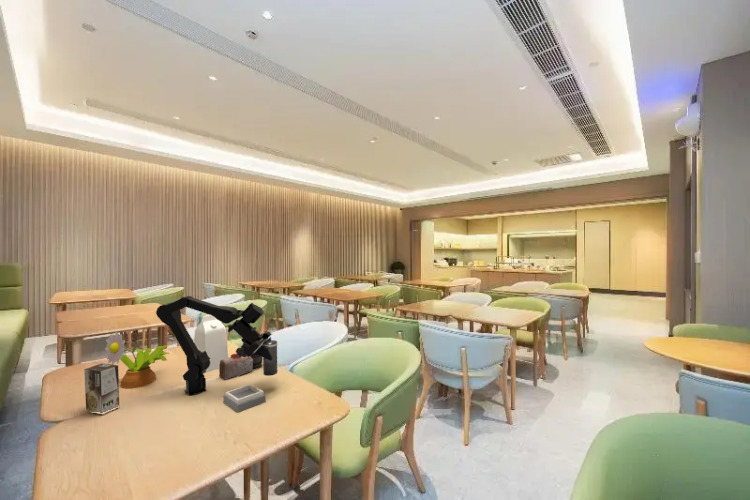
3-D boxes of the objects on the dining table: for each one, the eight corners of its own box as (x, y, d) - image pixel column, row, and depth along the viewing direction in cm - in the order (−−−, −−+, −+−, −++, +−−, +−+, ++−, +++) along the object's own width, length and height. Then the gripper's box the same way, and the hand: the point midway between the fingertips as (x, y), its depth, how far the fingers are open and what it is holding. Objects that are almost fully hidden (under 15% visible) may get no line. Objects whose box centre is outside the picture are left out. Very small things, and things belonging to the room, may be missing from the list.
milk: (216, 361, 178) (215, 311, 178) (228, 365, 171) (227, 314, 171) (193, 368, 168) (191, 315, 168) (205, 373, 162) (203, 318, 161)
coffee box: (120, 407, 128) (119, 365, 127) (101, 416, 122) (100, 371, 121) (103, 404, 131) (102, 362, 130) (84, 412, 125) (83, 368, 124)
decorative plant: (93, 388, 146) (91, 330, 146) (149, 368, 168) (147, 318, 168) (135, 397, 136) (133, 335, 136) (188, 375, 158) (187, 322, 158)
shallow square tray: (237, 412, 123) (237, 400, 122) (223, 402, 131) (223, 391, 131) (265, 401, 131) (265, 390, 131) (250, 392, 139) (250, 382, 139)
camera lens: (265, 364, 172) (265, 334, 172) (258, 370, 164) (257, 339, 164) (250, 364, 173) (249, 334, 173) (242, 369, 165) (241, 339, 165)
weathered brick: (245, 368, 167) (245, 348, 167) (254, 372, 162) (253, 351, 161) (217, 377, 157) (217, 355, 156) (225, 381, 151) (225, 359, 151)
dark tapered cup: (267, 377, 138) (267, 345, 138) (260, 373, 142) (260, 342, 142) (280, 373, 142) (279, 341, 142) (273, 369, 146) (272, 339, 146)
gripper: (241, 339, 151) (266, 363, 151) (223, 352, 132) (252, 380, 132) (258, 321, 151) (284, 345, 151) (243, 331, 132) (272, 359, 133)
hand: (273, 357), depth 142 cm, fingers closed on dark tapered cup, 6 cm apart
